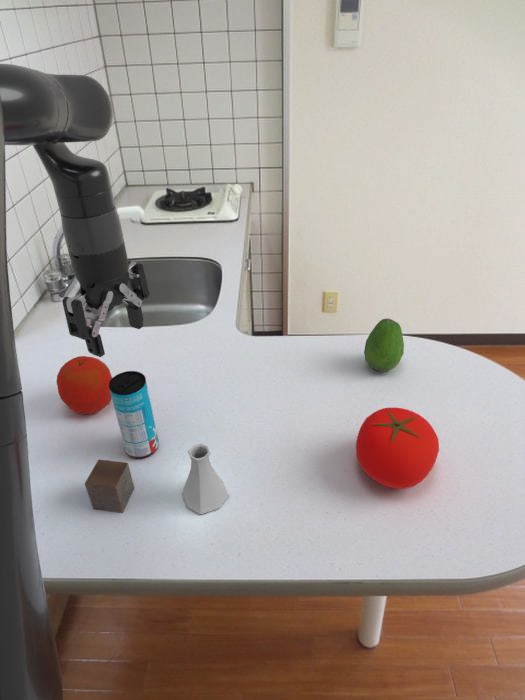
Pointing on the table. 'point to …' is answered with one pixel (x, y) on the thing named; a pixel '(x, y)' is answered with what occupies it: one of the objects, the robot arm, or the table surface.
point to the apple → (84, 384)
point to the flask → (203, 483)
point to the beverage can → (134, 413)
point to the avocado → (384, 345)
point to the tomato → (397, 447)
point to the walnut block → (110, 486)
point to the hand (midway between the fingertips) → (118, 340)
